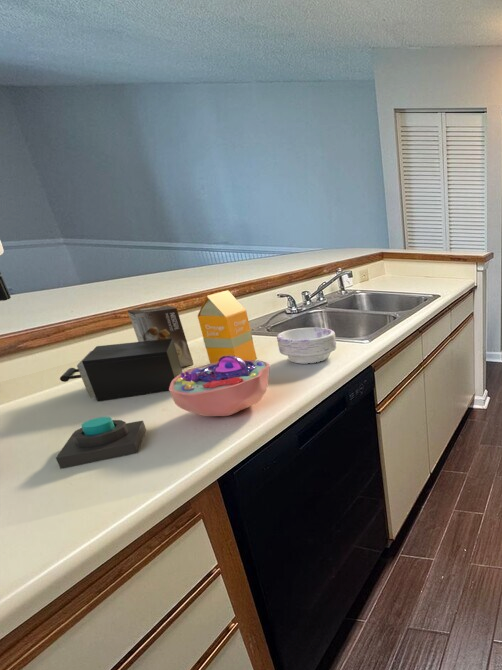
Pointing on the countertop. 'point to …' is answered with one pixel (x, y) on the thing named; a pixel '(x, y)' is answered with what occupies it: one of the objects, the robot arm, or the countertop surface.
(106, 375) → the cabinet
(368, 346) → the countertop surface
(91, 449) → the control block
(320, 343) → the paper bowls
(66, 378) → the drawer
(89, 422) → the button
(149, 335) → the coffee box
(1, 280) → the robot arm
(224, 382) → the cell model
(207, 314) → the orange juice
